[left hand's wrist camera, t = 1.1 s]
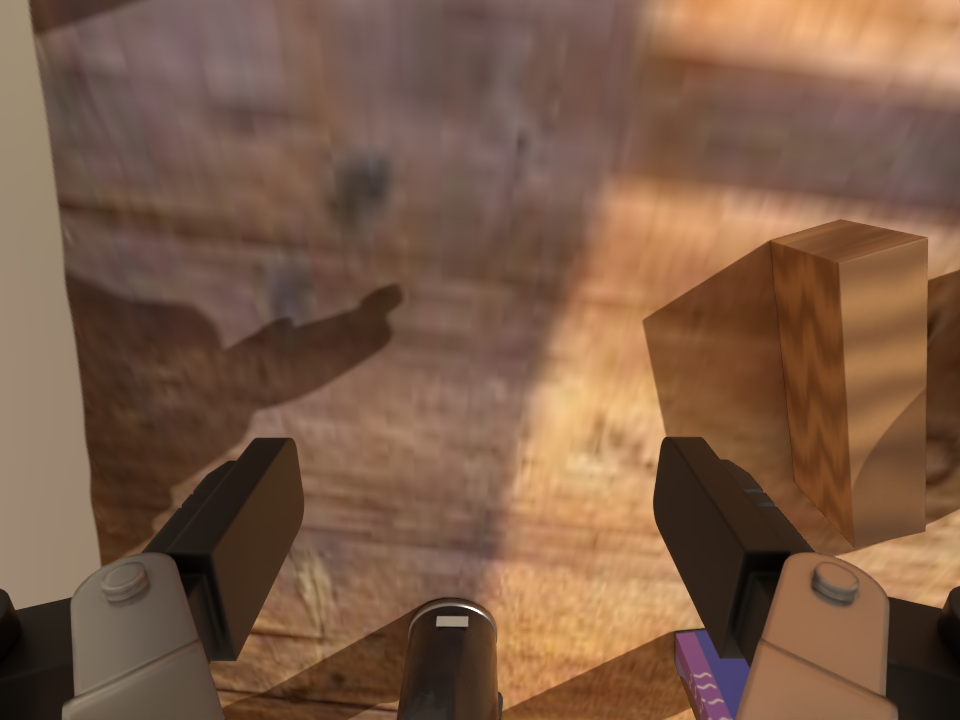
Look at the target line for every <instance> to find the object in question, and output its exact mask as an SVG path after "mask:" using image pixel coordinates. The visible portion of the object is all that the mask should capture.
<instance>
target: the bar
mask: <svg viewBox="0 0 960 720" xmlns="http://www.w3.org/2000/svg"><path fill="white" fill-rule="evenodd" d="M770 247H771V257H772V266H773V276H774V286H775V295H776V305H777V315H778V324H779V334H780V344H781V353H782V363H783V372H784V382H785V392H786V401H787V411H788V421H789V430H790V440H791V450H792V459H793V469H794V479H795V484H796V485H797V486H798V488H799V489H800V490H801V491H802V492H803V493H804V494H805V495H806V496H807V497H808V498H809V499H810V501H811V502H812V503H813V504H814V505H815V506H816V507H817V508H818V509H819V510H820V511H821V512H822V513H823V515H824V516H825V517H826V518H827V519H828V520H829V521H830V522H831V523H832V524H833V525H834V526H835V527H836V529H837V530H838V531H839V532H840V533H841V534H842V535H843V536H844V537H845V538H846V539H847V540H848V542H849V543H850V544H851V545H852V546H853V547H854V548H855V547H860V546H864V545H868V544H873V543H877V542H882V541H886V540H890V539H895V538H899V537H904V536H908V535H912V534H917V533H921V532H925V510H926V399H927V289H928V238H927V237H923V236H918V235H913V234H909V233H904V232H899V231H894V230H889V229H885V228H880V227H875V226H870V225H865V224H860V223H856V222H851V221H846V220H841V219H840V220H837V221H834V222H830V223H827V224H824V225H820V226H817V227H813V228H810V229H807V230H803V231H800V232H797V233H793V234H790V235H787V236H783V237H780V238H777V239H773V240H770Z"/></svg>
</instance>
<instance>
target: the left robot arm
mask: <svg viewBox="0 0 960 720" xmlns="http://www.w3.org/2000/svg"><path fill="white" fill-rule="evenodd" d="M653 509H654V516H655V521H656V524H657V527H658V529H659V531H660V533H661V535H662V538H663V540H664V542H665V544H666V546H667V548H668V550H669V552H670V554H671V557H672V559H673V561H674V563H675V565H676V567H677V569H678V571H679V573H680V576H681V578H682V580H683V582H684V584H685V586H686V588H687V590H688V592H689V595H690V597H691V599H692V601H693V603H694V605H695V607H696V609H697V612H698V614H699V616H700V618H701V620H702V622H703V624H704V626H705V628H706V631H707V633H708V635H709V637H710V639H711V641H712V643H713V645H714V647H715V650H716V652H717V654H718V656H719V658H720V659H745V660H746V662H747V664H748V666H749V668H750V671H749V675H748V678H747V681H746V684H745V687H744V691H743V694H742V697H741V700H740V704H739V707H738V710H737V713H736V717H735V720H960V586H958V587H956V588H954V589H953V590H952V591H951V592H950V593H949V596H948V598H947V600H946V603H945V605H944V607H943V609H940V608H936V607H931V606H927V605H923V604H918V603H914V602H909V601H905V600H901V599H896V598H892V597H888V596H887V594H886V593H885V591H884V590H883V588H882V587H881V586H880V585H879V584H878V582H876V581H875V580H874V579H873V578H872V577H871V576H870V575H868V574H867V573H866V572H864V571H863V570H861V569H859V568H858V567H856V566H854V565H852V564H850V563H848V562H846V561H844V560H841V559H839V558H836V557H833V556H830V555H826V554H821V553H815V551H814V550H813V549H812V548H811V547H810V545H809V544H808V543H807V542H806V541H805V539H804V538H803V537H802V536H801V535H800V534H799V532H798V531H797V530H796V529H795V528H794V526H793V525H792V524H791V523H790V522H789V520H788V519H787V518H786V517H785V516H784V514H783V513H782V512H781V511H780V510H779V508H778V507H775V506H774V502H773V501H772V500H771V499H770V498H769V496H768V495H767V494H766V493H763V489H762V488H761V487H760V486H759V484H758V483H757V482H756V481H755V480H754V479H753V477H752V476H751V475H750V474H749V473H748V472H746V471H745V470H743V469H741V468H740V467H738V466H737V465H735V464H734V463H732V462H731V461H729V460H720V459H719V458H718V457H717V455H716V454H715V453H714V451H713V450H712V449H711V448H710V446H709V445H708V444H707V442H706V441H705V440H704V439H703V438H702V437H665V438H664V439H663V441H662V444H661V449H660V455H659V462H658V469H657V476H656V483H655V490H654V497H653ZM303 513H304V495H303V488H302V482H301V475H300V468H299V461H298V455H297V448H296V444H295V442H294V440H293V439H292V438H255V439H254V440H253V441H252V442H251V443H250V445H249V446H248V447H247V448H246V450H245V451H244V452H243V453H242V455H241V456H240V457H239V458H238V460H237V461H228V462H226V463H225V464H223V465H221V466H220V467H218V468H217V469H215V470H214V471H212V472H211V473H209V474H208V475H207V476H206V477H205V478H204V479H203V480H202V481H201V483H200V484H199V485H198V486H197V487H196V489H195V490H194V491H193V494H191V495H190V496H189V497H188V498H187V499H186V500H185V502H184V503H183V504H182V508H179V509H178V510H177V511H176V512H175V513H174V515H173V516H172V517H171V518H170V519H169V521H168V522H167V523H166V524H165V525H164V527H163V528H162V529H161V530H160V531H159V532H158V534H157V535H156V536H155V537H154V538H153V540H152V541H151V542H150V543H149V544H148V545H147V547H146V548H145V549H144V550H143V551H142V553H139V554H134V555H130V556H127V557H124V558H121V559H119V560H116V561H114V562H112V563H110V564H108V565H106V566H104V567H102V568H101V569H99V570H97V571H96V572H94V573H93V574H92V575H90V576H89V577H88V578H87V579H86V580H85V581H84V582H82V584H81V585H80V586H79V587H78V588H77V590H76V591H75V593H74V594H73V597H71V598H67V599H63V600H59V601H54V602H50V603H45V604H41V605H37V606H32V607H28V608H23V609H19V610H15V609H14V607H13V604H12V602H11V600H10V597H9V595H8V593H6V592H5V591H4V590H2V589H0V720H225V717H224V713H223V710H222V707H221V704H220V700H219V697H218V694H217V691H216V687H215V684H214V681H213V678H212V675H211V671H210V668H209V664H210V662H211V661H236V660H237V658H238V656H239V654H240V652H241V650H242V648H243V646H244V644H245V641H246V639H247V637H248V635H249V633H250V631H251V629H252V627H253V625H254V623H255V621H256V618H257V616H258V614H259V612H260V610H261V608H262V606H263V604H264V602H265V600H266V598H267V595H268V593H269V591H270V589H271V587H272V585H273V583H274V581H275V579H276V577H277V575H278V573H279V570H280V568H281V566H282V564H283V562H284V560H285V558H286V556H287V554H288V552H289V550H290V547H291V545H292V543H293V541H294V539H295V537H296V535H297V533H298V531H299V529H300V526H301V523H302V519H303ZM496 643H497V627H496V623H495V620H494V619H493V617H492V615H491V614H490V613H489V612H488V611H487V610H486V609H485V608H483V607H482V606H480V605H478V604H476V603H474V602H472V601H469V600H465V599H458V598H446V599H440V600H436V601H433V602H430V603H428V604H426V605H424V606H423V607H421V608H420V609H419V610H418V611H417V612H416V613H415V614H414V616H413V617H412V619H411V622H410V626H409V632H408V646H407V653H406V658H405V665H404V672H403V679H402V686H401V693H400V700H399V706H398V713H397V720H500V717H501V711H502V704H503V697H502V695H501V693H499V692H498V684H497V650H496Z"/></svg>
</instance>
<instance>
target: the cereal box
mask: <svg viewBox="0 0 960 720" xmlns="http://www.w3.org/2000/svg"><path fill="white" fill-rule="evenodd" d="M675 665H676V668H677V670H678V673H679V676H680V678H681V681H682V684H683V686H684V689H685V692H686V694H687V697H688V700H689V702H690V705H691V708H692V710H693V713H694V716H695V718H696V720H735V717H736V713H737V710H738V707H739V704H740V700H741V697H742V694H743V691H744V687H745V684H746V681H747V678H748V675H749V671H750V668H749V666H748V664H747V662H746V660H745V659H720V658H719V656H718V654H717V652H716V650H715V647H714V645H713V643H712V641H711V639H710V637H709V635H708V633H707V631H706V629H700V630H690V631H680V632H675Z"/></svg>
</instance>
